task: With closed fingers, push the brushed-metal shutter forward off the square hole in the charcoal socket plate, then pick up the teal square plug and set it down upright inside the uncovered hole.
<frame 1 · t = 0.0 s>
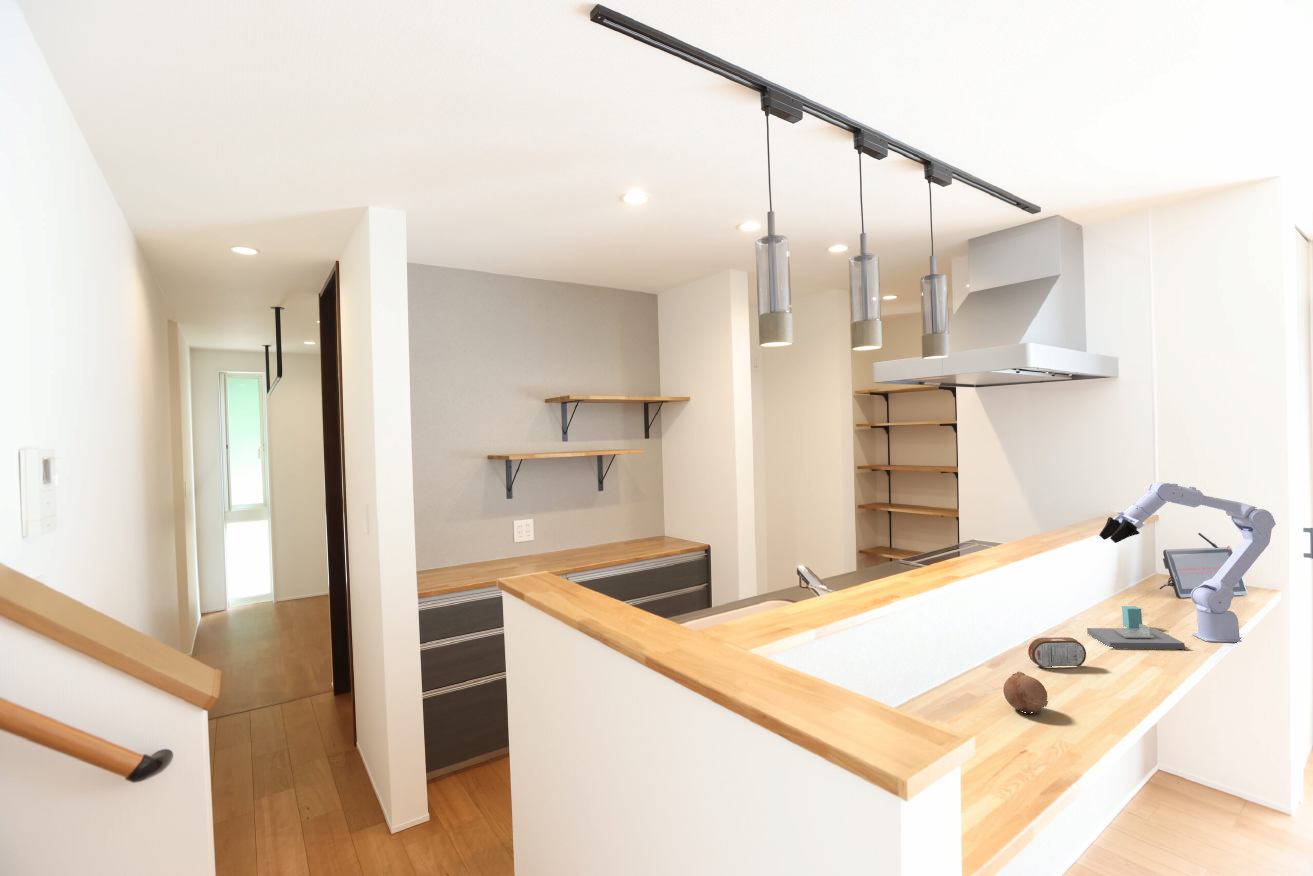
hand: (1107, 539, 207), 32 cm above the counter, tool tilted 50°, fingers open, 7 cm apart
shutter: (1132, 630, 202), point 4 cm above the counter, slide at 0.0 cm
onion: (1026, 712, 155), on the counter
tin: (1058, 668, 183), on the counter
socket plate: (1133, 641, 201), on the counter
plug: (1132, 628, 216), on the counter
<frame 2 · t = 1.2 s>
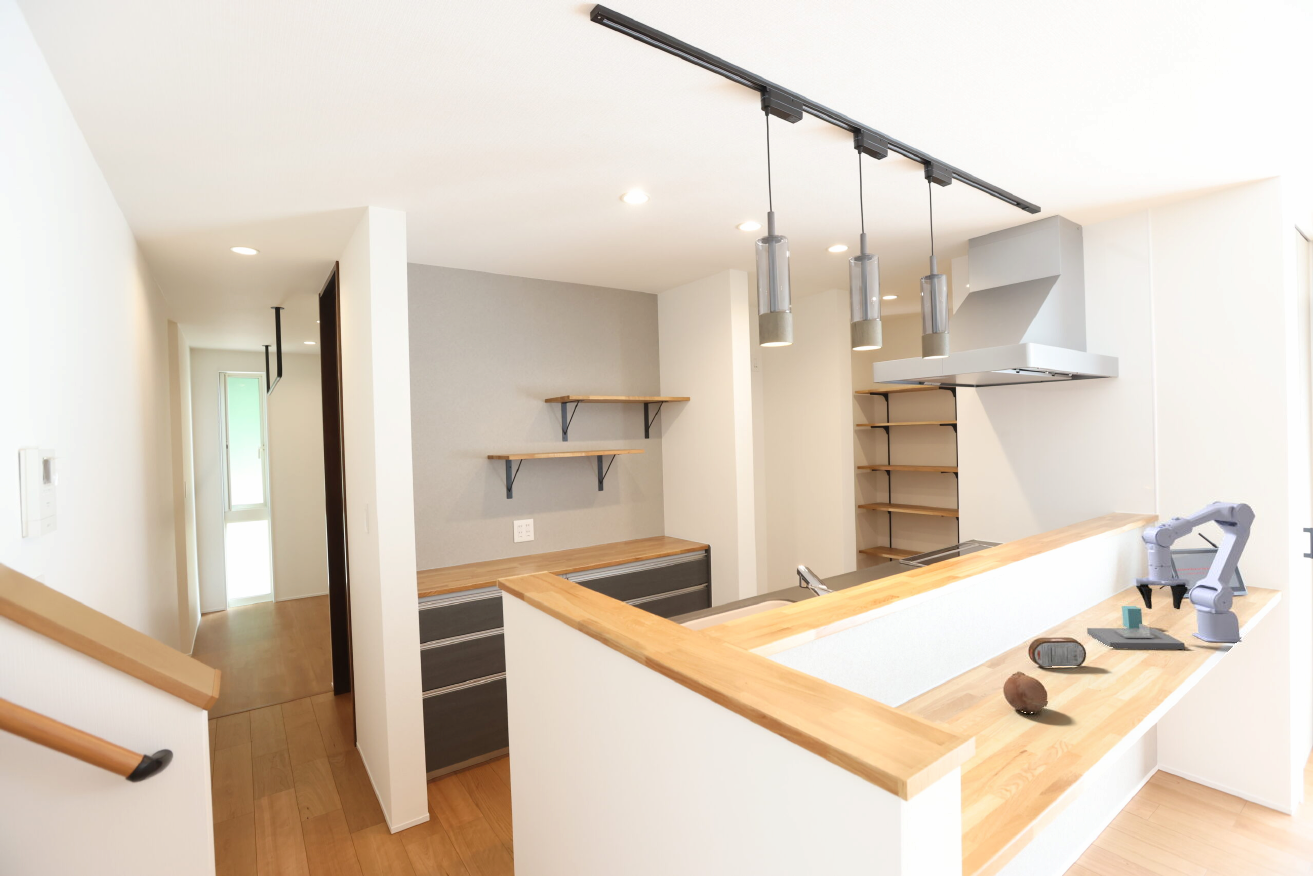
hand: (1162, 608, 200), 11 cm above the counter, tool pointing down, fingers open, 7 cm apart
nothing on the counter moved.
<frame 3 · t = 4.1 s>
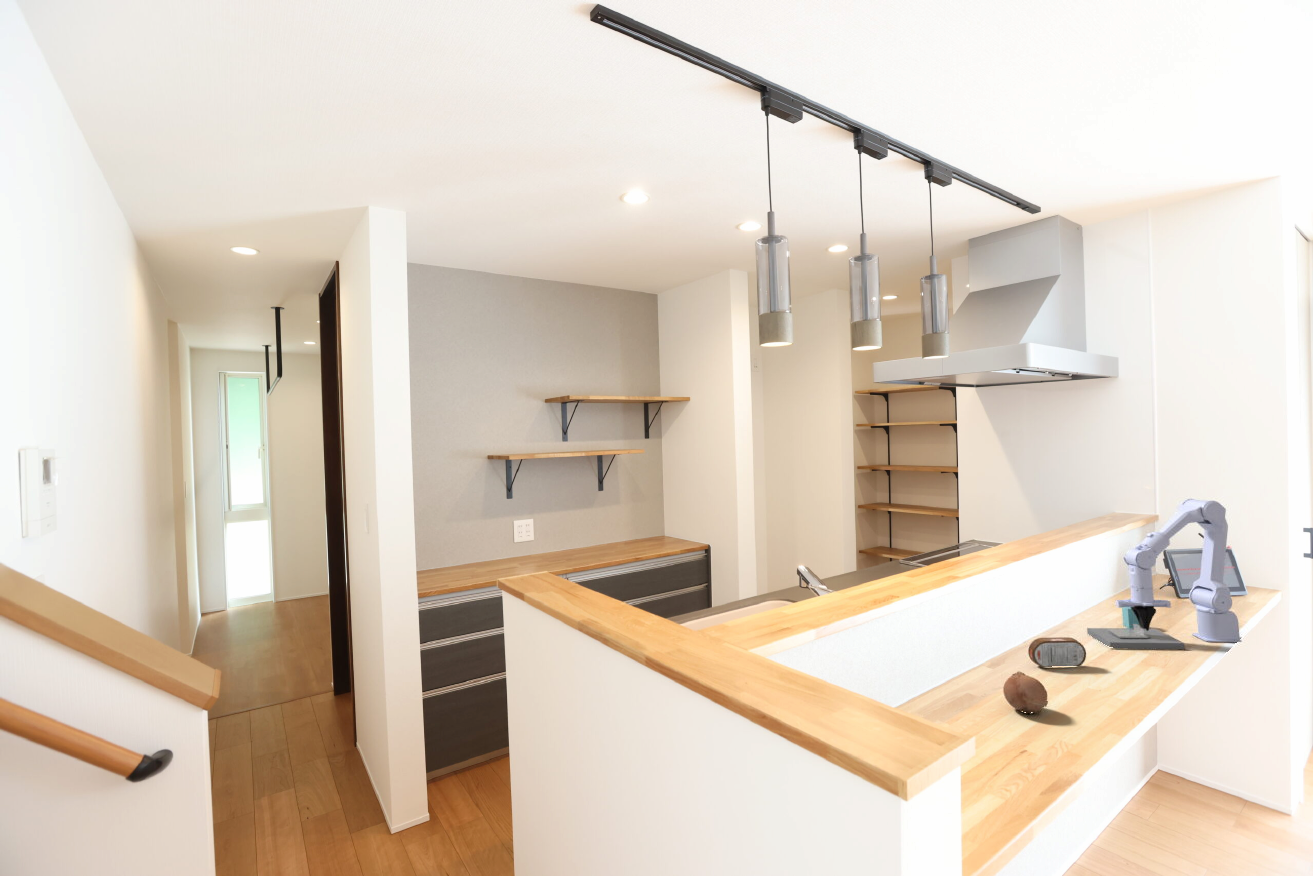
hand: (1144, 629, 201), 4 cm above the counter, tool pointing down, fingers closed
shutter: (1127, 630, 202), point 4 cm above the counter, slide at 1.6 cm, touching gripper
everything else where it was.
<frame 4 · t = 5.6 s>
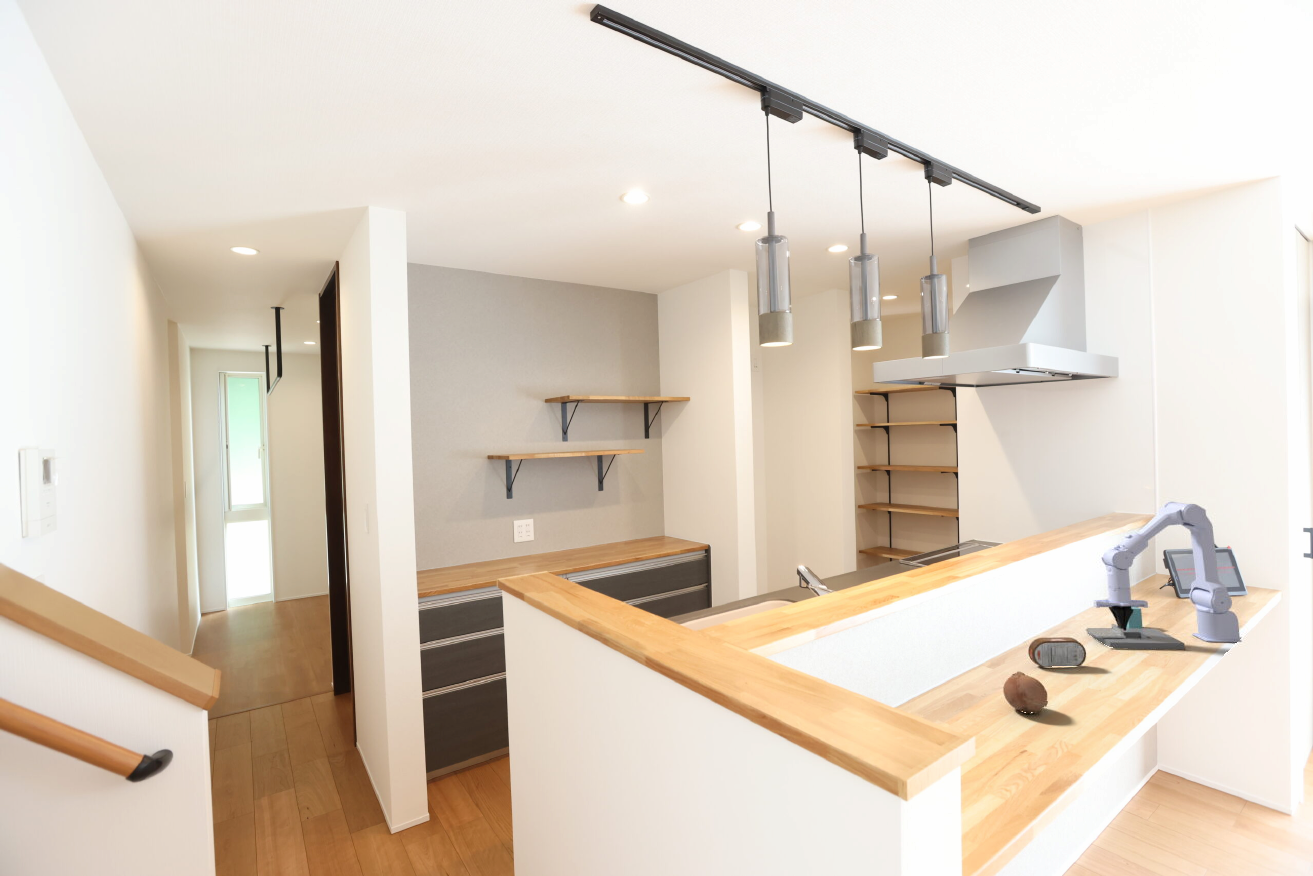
hand: (1122, 629, 202), 4 cm above the counter, tool pointing down, fingers closed
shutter: (1104, 630, 203), point 4 cm above the counter, slide at 7.9 cm, touching gripper
everything else where it was.
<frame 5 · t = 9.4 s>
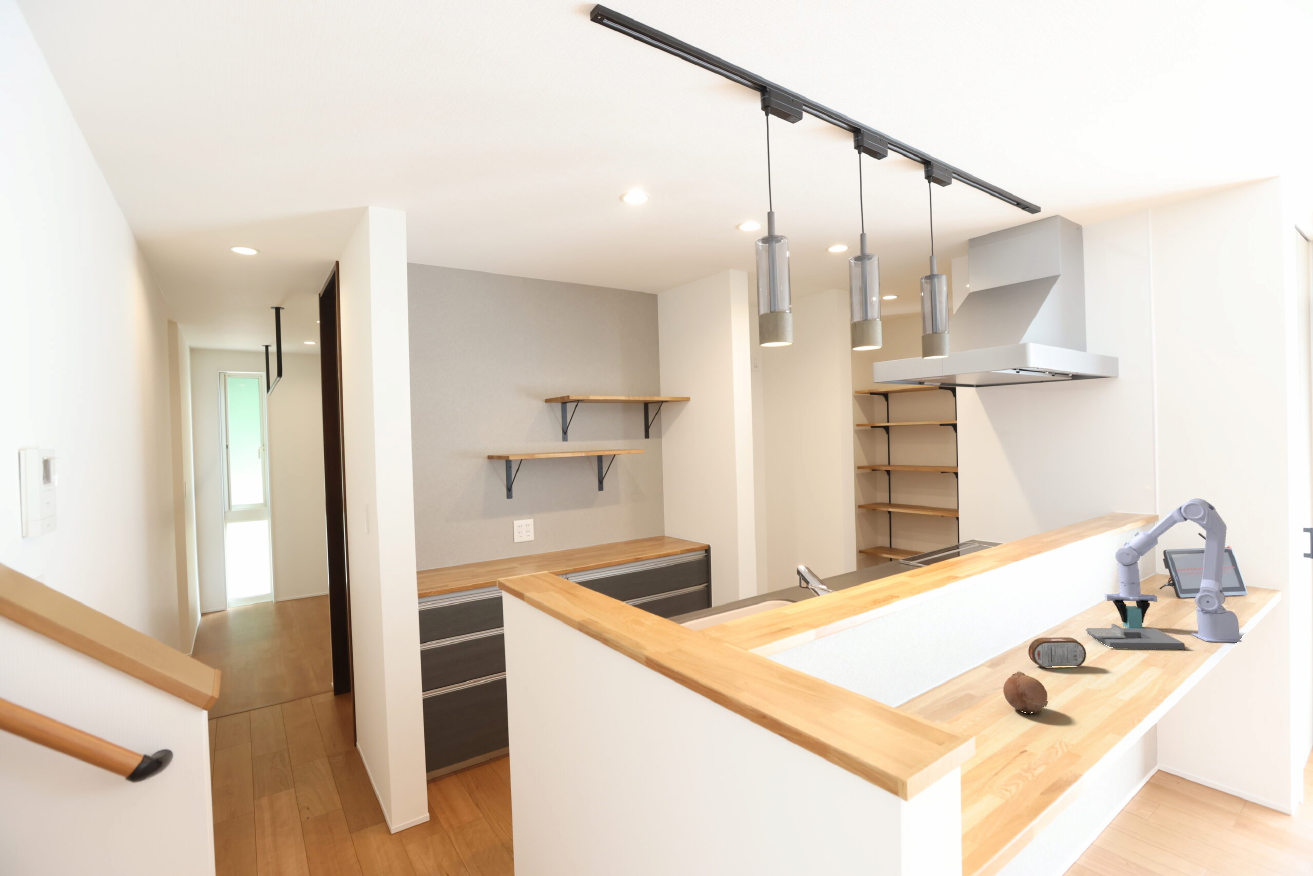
hand: (1132, 622, 216), 2 cm above the counter, tool pointing down, fingers closed on plug, 4 cm apart
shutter: (1104, 630, 203), point 4 cm above the counter, slide at 7.9 cm
plug: (1132, 627, 216), on the counter, touching gripper
everything else where it was.
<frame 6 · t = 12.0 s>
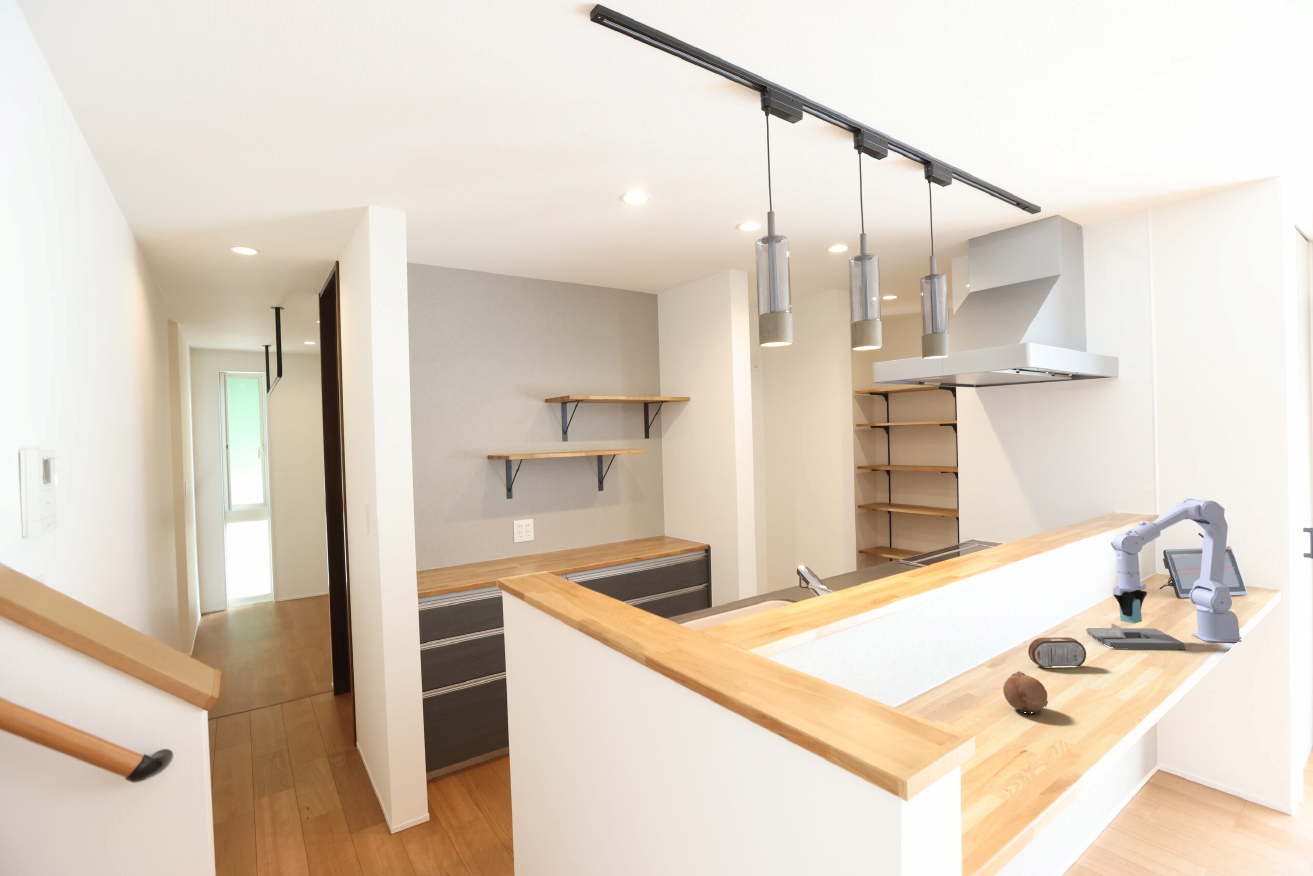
hand: (1131, 614, 202), 8 cm above the counter, tool pointing down, fingers closed on plug, 4 cm apart
plug: (1131, 621, 203), point 6 cm above the counter, touching gripper
everything else where it was.
when the fingers open (3 cm above the counter, at t = 15.0 s): plug stays where it is, resting in socket plate.
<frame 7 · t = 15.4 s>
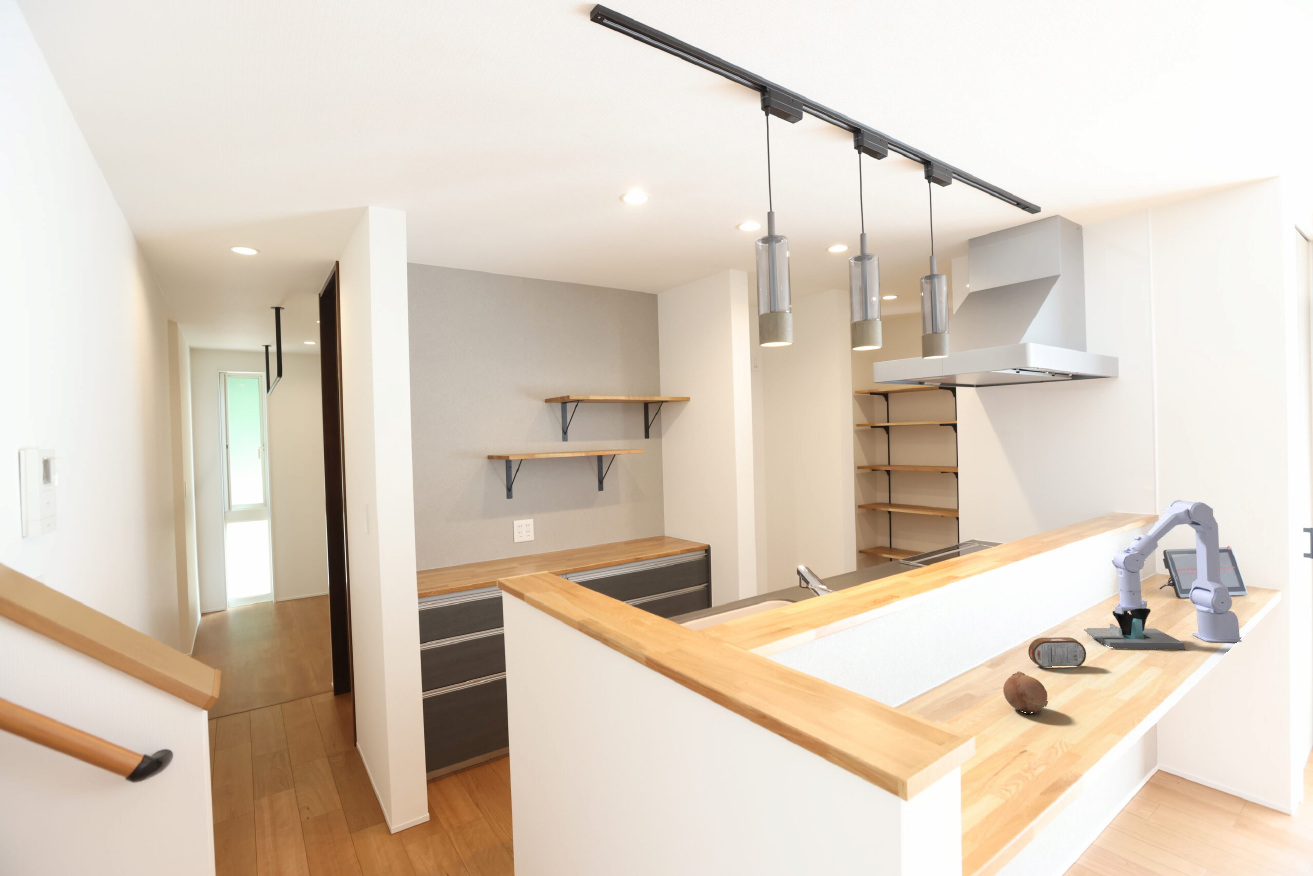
hand: (1133, 632, 202), 3 cm above the counter, tool pointing down, fingers open, 7 cm apart
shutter: (1103, 630, 203), point 4 cm above the counter, slide at 8.5 cm, touching gripper
plug: (1132, 641, 202), resting in socket plate
everything else where it was.
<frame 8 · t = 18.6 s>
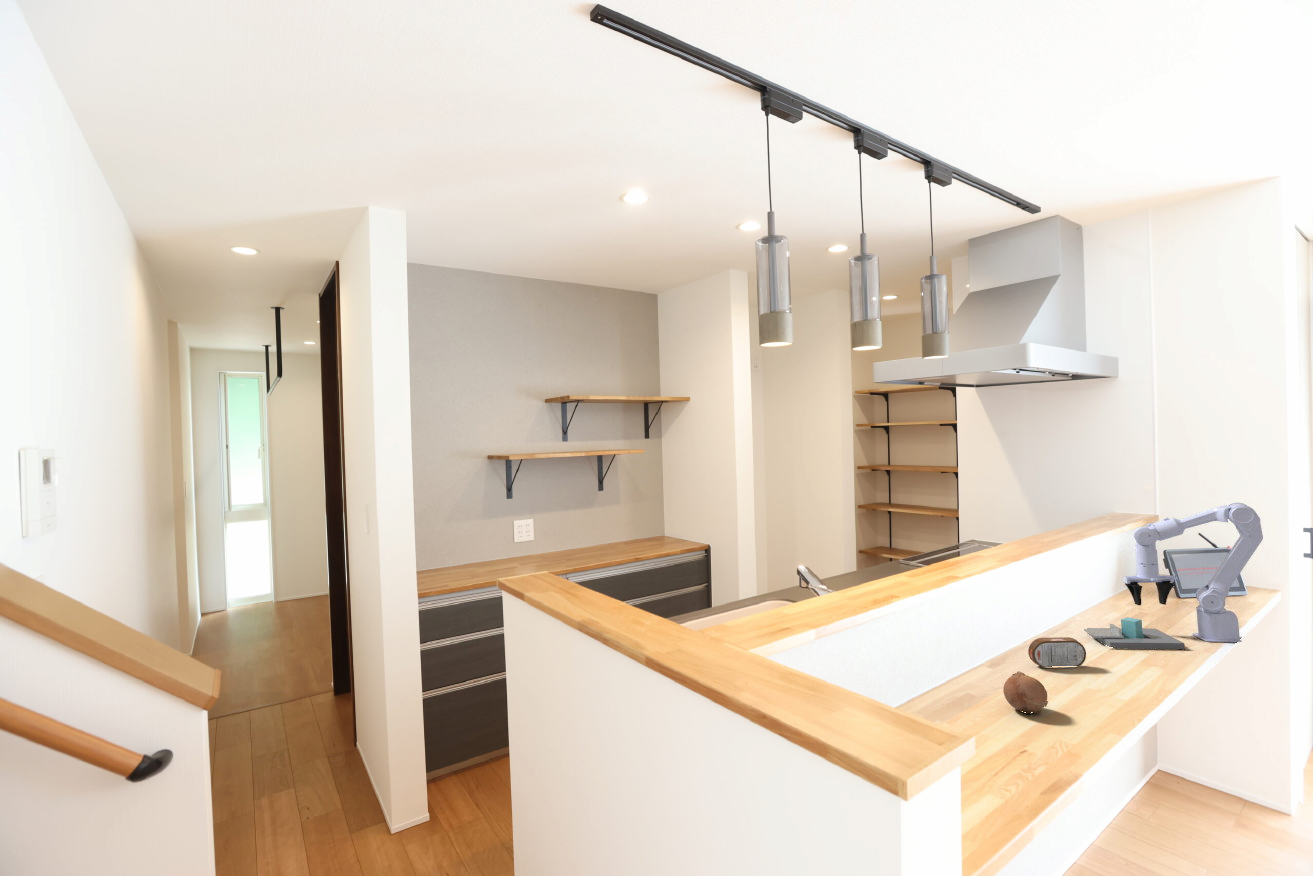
hand: (1150, 604, 209), 9 cm above the counter, tool pointing down, fingers open, 7 cm apart
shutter: (1103, 630, 203), point 4 cm above the counter, slide at 8.5 cm
everything else where it was.
at the end: plug 0.3 cm off-centre on the socket plate, point 0.0 cm above the socket plate's base; plug tilted 0°; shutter slide at 8.5 cm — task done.
